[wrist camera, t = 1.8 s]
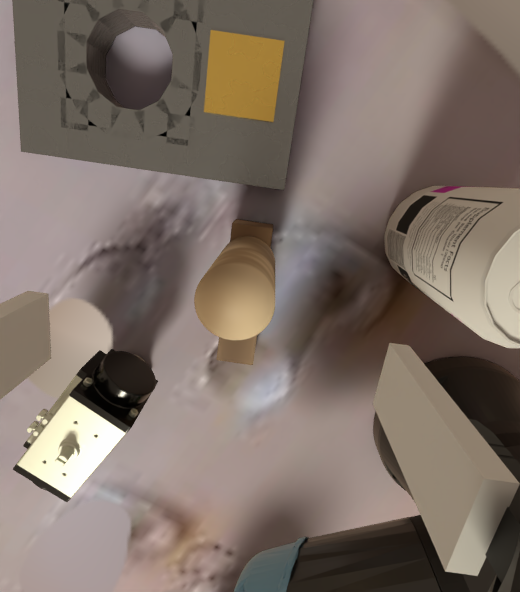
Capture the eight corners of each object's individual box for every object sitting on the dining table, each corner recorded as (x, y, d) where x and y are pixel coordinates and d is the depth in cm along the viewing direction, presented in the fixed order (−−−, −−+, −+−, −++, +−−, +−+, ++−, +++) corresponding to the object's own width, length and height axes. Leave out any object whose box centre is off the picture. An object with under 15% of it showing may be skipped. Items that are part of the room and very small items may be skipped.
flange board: (314, -13, 26) (319, -38, 23) (283, 189, 30) (284, 190, 27) (36, -54, 26) (5, -85, 23) (45, 154, 30) (19, 151, 27)
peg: (279, 240, 29) (280, 270, 19) (270, 293, 30) (268, 345, 21) (223, 232, 29) (197, 258, 19) (217, 285, 30) (191, 334, 21)
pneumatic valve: (181, 345, 35) (136, 425, 24) (116, 423, 38) (49, 526, 27) (133, 310, 34) (63, 376, 23) (71, 392, 37) (-19, 487, 26)
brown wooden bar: (273, 224, 31) (272, 229, 29) (254, 349, 35) (252, 365, 32) (236, 219, 31) (232, 223, 29) (221, 345, 35) (216, 359, 32)
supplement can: (459, 165, 29) (634, 153, 15) (493, 254, 31) (675, 317, 17) (366, 215, 31) (444, 247, 17) (404, 297, 33) (503, 388, 19)
